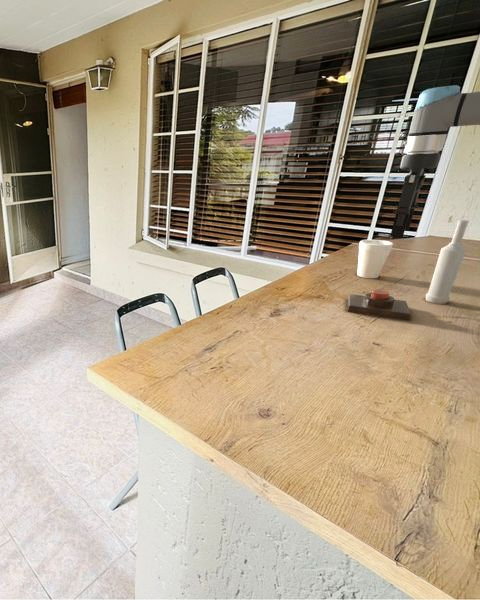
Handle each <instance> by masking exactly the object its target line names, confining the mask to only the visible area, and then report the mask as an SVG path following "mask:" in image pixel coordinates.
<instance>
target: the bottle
mask: <svg viewBox="0 0 480 600" xmlns="http://www.w3.org/2000/svg"><path fill="white" fill-rule="evenodd" d="M469 223H470V220H468V219H458V221H457V224H456V228H455V231H454V234H453V237H452V239H451V242H449V243H448V244H447V245H445V246H443V247H441V249H440V251H439V254H438V258H437V262H436V265H435V268H434V272H433V276H432V279H431V282H430V284H429V288H428V292H427V293H426V294H425V301H426V302H429V303H433V304H439V305H442V304H443V305H444V304H447V303H448V302H449V300H450V293H451V291H452V288H453V286H454V284H455V281H456V278H457V276H458V274H459V271H460V269H461V266H462V263H463V260H464V258H465V256H466V253H467V249H466V248H465V247H463V243H462V241H463V238H464V236H465V232H466V230H467V227H468V224H469Z"/></svg>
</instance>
